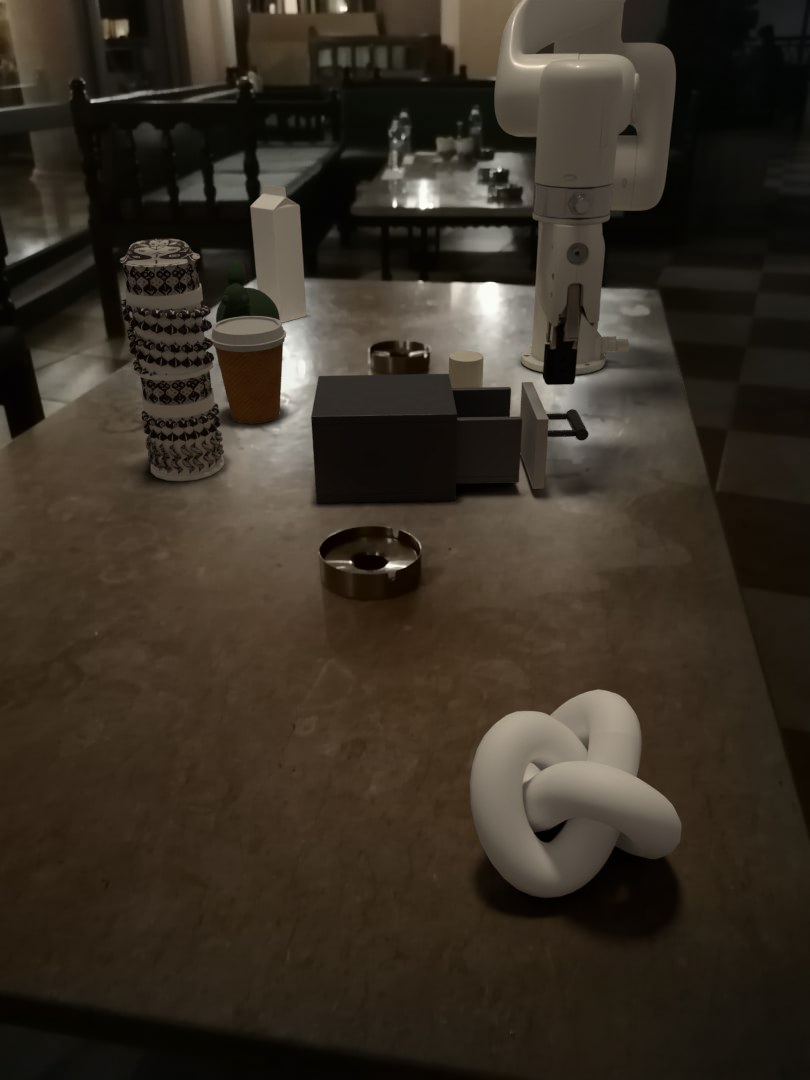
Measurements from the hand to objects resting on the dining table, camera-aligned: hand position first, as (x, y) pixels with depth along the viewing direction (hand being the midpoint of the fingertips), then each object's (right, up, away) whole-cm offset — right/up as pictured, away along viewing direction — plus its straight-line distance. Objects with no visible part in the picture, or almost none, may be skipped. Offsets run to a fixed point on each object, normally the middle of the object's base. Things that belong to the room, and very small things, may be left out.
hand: (558, 381), depth 97 cm
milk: (-38, +23, +65) cm, 79 cm away
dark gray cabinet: (-19, -10, +4) cm, 22 cm away
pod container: (-8, +2, +27) cm, 28 cm away
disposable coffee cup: (-36, -1, +22) cm, 42 cm away
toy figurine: (-40, +8, +38) cm, 55 cm away
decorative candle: (-42, -9, +8) cm, 43 cm away
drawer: (-6, -9, +4) cm, 12 cm away
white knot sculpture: (-7, -36, -43) cm, 56 cm away
